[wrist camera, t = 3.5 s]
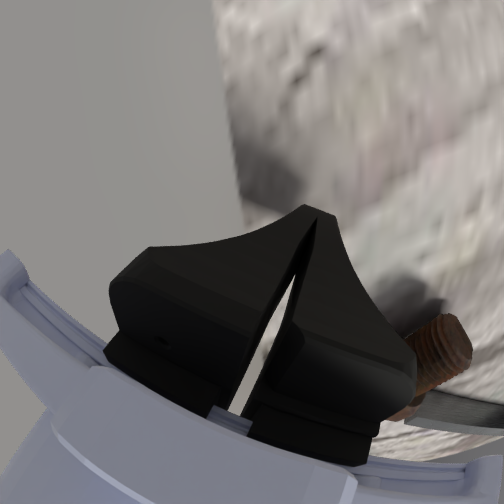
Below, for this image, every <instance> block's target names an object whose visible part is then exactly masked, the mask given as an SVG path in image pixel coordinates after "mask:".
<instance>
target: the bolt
mask: <svg viewBox="0 0 504 504" xmlns="http://www.w3.org/2000/svg"><path fill="white" fill-rule="evenodd" d="M403 340H404V341H405V343H406V344H407V345H408V346H409V347H410V348H411V349H412V350H413V351H414V353H415V354H416V361H417V381H416V395H415V397H414V398H413V400H412V402H411V403H410V404H408V405H407V406H406V407H405V408H403V409H402V410H401V411H399V412H398V413H396V414H394V415H393V416H391V417H389V418H387V419H386V420H389V421H395V422H397V421H400V420H402V419H405V418H407V417H410V416H412V415H413V414H414V413H415V412H416V411H417V409H418V408H419V407H420V405H421V404H422V402H423V400H424V398H425V396H426V392H427V391H430V390H431V389H433V388H435V387H436V386H437V385H441V384H442V383H443V382H446V381H447V380H448V379H449V380H450V379H451V378H453V377H454V376H457V375H458V374H459V373H462V372H463V371H464V370H467V369H468V368H469V367H470V364H471V360H472V351H473V348H472V344H471V342H470V340H469V338H468V336H467V334H466V332H465V330H464V329H463V327H462V325H461V324H460V322H459V320H458V319H457V317H456V316H454V315H452V314H450V313H448V314H444V315H443V314H439V315H438V316H437V318H433V320H432V321H430V322H429V323H428V324H427V325H424V326H423V327H422V328H421V329H418V331H417V332H414V333H413V334H412V335H410V336H408V337H407V338H406V339H403Z"/></svg>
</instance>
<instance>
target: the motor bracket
mask: <svg viewBox="0 0 504 504" xmlns="http://www.w3.org/2000/svg"><path fill="white" fill-rule="evenodd" d="M404 424H406V425H411V426H417V427H422V428H428V429H434V430H441V431H448V432H456V433H465V434H477V435H492V436H504V406H502V405H497V404H491V403H486V402H481V401H476V400H472V399H467V398H463V397H458V396H454V395H450V394H446V393H442V392H438V391H434V390H430V391H427V392H426V396H425V398H424V400H423V402H422V404H421V405H420V407H419V408H418V409H417V411H416V412H415V413H414V414H413V415H412V416H410V417H407V418H405V420H404Z"/></svg>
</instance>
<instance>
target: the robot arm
mask: <svg viewBox="0 0 504 504" xmlns="http://www.w3.org/2000/svg"><path fill="white" fill-rule="evenodd" d="M294 275H295V278H294V282H293V285H292V289H291V292H290V296H289V299H288V303H287V306H286V310H285V313H284V317H283V320H282V323H281V326H280V328H279V331H278V333H277V336H276V338H275V340H274V343H273V345H272V347H271V350H270V352H269V354H268V356H267V359H266V361H265V363H264V365H263V368H262V370H261V372H260V374H259V377H258V379H257V381H256V383H255V385H254V388H253V390H252V392H251V394H250V396H249V398H248V400H247V402H246V404H245V406H244V408H243V411H242V413H241V415H240V416H238V415H235V414H233V413H231V412H228V411H227V410H228V408H229V406H230V404H231V402H232V400H233V398H234V396H235V394H236V392H237V390H238V388H239V386H240V384H241V381H242V379H243V377H244V375H245V373H246V371H247V368H248V366H249V364H250V362H251V360H252V358H253V356H254V354H255V351H256V349H257V347H258V345H259V343H260V341H261V338H262V336H263V334H264V332H265V329H266V327H267V325H268V323H269V321H270V319H271V317H272V315H273V313H274V311H275V310H276V308H277V306H278V304H279V303H280V301H281V299H282V297H283V295H284V294H285V292H286V290H287V288H288V286H289V285H290V283H291V281H292V279H293V277H294ZM109 297H110V303H111V306H112V309H113V312H114V315H115V318H116V321H117V324H118V327H119V332H118V333H117V334H116V335H115V336H114V337H113V338H112V340H111V341H110V342H109V343H108V344H107V343H106V342H104V341H103V340H102V339H100V338H99V337H97V336H96V335H95V334H93V333H92V332H91V331H89V330H88V329H87V328H85V327H84V326H83V325H82V324H80V323H79V322H78V321H76V320H75V319H74V318H73V317H71V316H70V315H69V314H68V313H67V312H65V311H64V310H63V309H62V308H60V307H59V306H58V305H57V304H56V303H55V302H54V301H52V300H51V299H50V298H49V297H48V296H47V295H46V294H44V293H43V292H42V291H41V290H40V289H39V288H38V287H37V286H36V285H35V284H34V283H33V282H32V281H31V280H30V279H29V275H28V273H27V271H26V269H25V267H24V265H23V263H22V262H21V261H20V259H19V258H18V257H16V255H15V254H13V252H11V250H9V249H7V250H6V251H5V252H4V253H2V254H1V255H0V348H1V350H2V351H3V353H4V354H5V356H6V357H7V359H8V360H9V361H10V362H11V364H12V366H13V367H14V368H15V370H16V371H17V372H18V374H19V375H20V376H21V378H22V379H23V380H24V381H25V383H26V384H27V385H28V386H29V387H30V389H31V390H32V391H33V392H34V393H35V395H36V396H37V397H38V398H39V399H40V400H41V402H43V404H44V405H45V406H46V407H47V409H46V410H45V412H44V413H43V414H42V416H41V417H40V418H39V420H38V421H37V422H36V424H35V425H34V427H33V428H32V430H31V431H30V432H29V434H28V435H27V437H26V438H25V439H24V441H23V442H22V444H21V445H20V447H19V448H18V450H17V451H16V453H15V454H14V456H13V457H12V459H11V460H10V462H9V463H8V465H7V466H6V468H5V470H4V471H3V473H2V474H1V476H0V504H498V499H499V493H500V485H501V476H502V464H503V456H502V455H488V456H483V457H479V458H477V459H474V460H472V461H470V462H468V463H467V464H448V463H426V462H415V461H405V460H397V459H390V458H383V457H377V456H371V455H369V451H370V446H371V442H372V437H373V438H374V437H376V436H377V435H378V434H379V429H380V423H381V422H382V421H384V420H386V419H387V418H389V417H391V416H393V415H394V414H396V413H398V412H399V411H401V410H402V409H403V408H405V407H406V406H407V405H408V404H410V403H411V402H412V400H413V398H414V397H415V395H416V381H417V361H416V354H415V353H414V351H413V350H412V349H411V348H410V347H409V346H408V345H407V344H406V343H405V341H404V340H403V339H402V338H401V337H400V336H399V335H398V334H397V333H396V332H395V330H394V329H393V328H392V327H391V325H390V324H389V323H388V322H387V320H386V319H385V318H384V317H383V315H382V314H381V313H380V311H379V310H378V309H377V307H376V306H375V304H374V303H373V301H372V300H371V298H370V297H369V295H368V294H367V292H366V290H365V289H364V287H363V286H362V284H361V282H360V280H359V278H358V276H357V274H356V273H355V271H354V269H353V267H352V265H351V262H350V260H349V257H348V255H347V252H346V249H345V247H344V244H343V241H342V238H341V234H340V231H339V227H338V223H337V219H336V217H335V216H334V215H331V214H329V213H326V212H324V211H321V210H319V209H316V208H313V207H311V206H308V205H305V204H304V205H301V206H300V207H298V208H297V209H295V210H294V211H292V212H291V213H289V214H288V215H286V216H284V217H282V218H281V219H279V220H277V221H275V222H273V223H271V224H269V225H267V226H265V227H263V228H260V229H258V230H255V231H253V232H250V233H247V234H244V235H241V236H237V237H233V238H228V239H224V240H220V241H215V242H209V243H202V244H193V245H183V246H163V247H162V246H160V247H148V248H147V249H146V250H145V251H143V252H142V253H141V254H139V255H138V256H137V257H136V258H135V259H134V260H133V261H132V262H131V263H130V264H129V265H128V266H127V267H126V268H124V270H122V271H121V272H120V273H119V274H118V275H117V276H116V277H115V278H114V279H113V280H112V281H111V282H110V286H109Z"/></svg>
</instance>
